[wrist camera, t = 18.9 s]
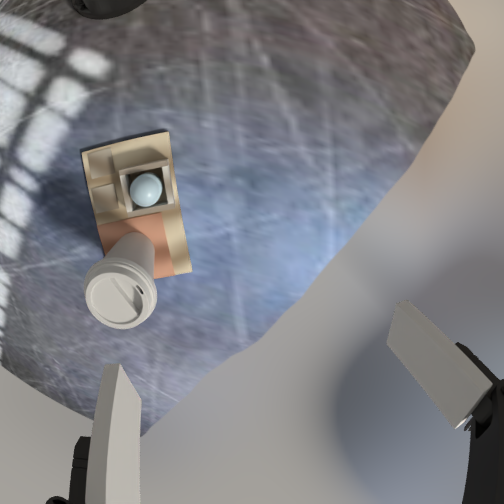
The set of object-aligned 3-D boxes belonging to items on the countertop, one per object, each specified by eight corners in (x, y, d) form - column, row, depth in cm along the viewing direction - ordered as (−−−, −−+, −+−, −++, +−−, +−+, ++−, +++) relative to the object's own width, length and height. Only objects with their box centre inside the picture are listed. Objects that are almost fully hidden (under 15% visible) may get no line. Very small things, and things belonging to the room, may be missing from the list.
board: (83, 152, 35) (73, 154, 32) (168, 131, 38) (166, 131, 34) (116, 282, 45) (111, 294, 42) (192, 269, 47) (192, 281, 44)
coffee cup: (168, 273, 46) (163, 330, 32) (115, 279, 44) (94, 336, 31) (158, 218, 42) (145, 260, 28) (102, 227, 40) (69, 270, 27)
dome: (131, 175, 37) (124, 180, 33) (160, 169, 38) (156, 174, 33) (137, 204, 39) (130, 212, 35) (165, 198, 39) (162, 206, 35)
